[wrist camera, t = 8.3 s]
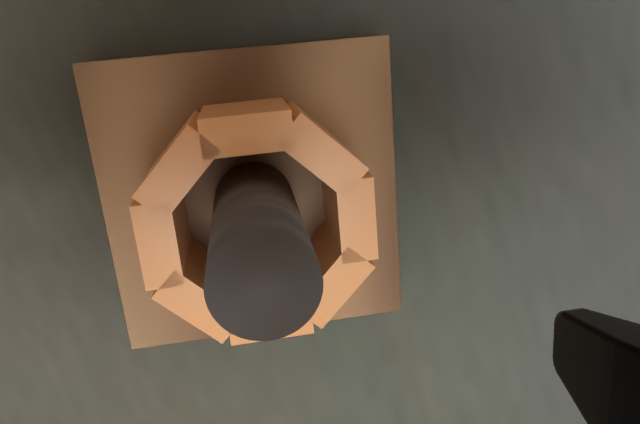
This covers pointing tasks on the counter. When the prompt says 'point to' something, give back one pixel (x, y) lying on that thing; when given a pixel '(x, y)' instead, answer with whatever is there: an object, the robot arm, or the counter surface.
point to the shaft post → (244, 179)
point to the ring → (238, 140)
